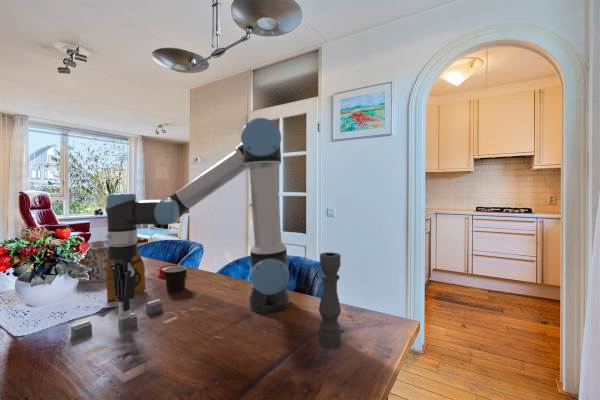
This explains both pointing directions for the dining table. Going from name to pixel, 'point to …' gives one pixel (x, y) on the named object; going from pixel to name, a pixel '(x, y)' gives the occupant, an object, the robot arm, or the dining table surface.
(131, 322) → the switch
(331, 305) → the candle holder
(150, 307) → the switch
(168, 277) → the coffee mug
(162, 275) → the alarm clock
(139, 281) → the coffee package
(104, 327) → the dining table surface
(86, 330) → the switch
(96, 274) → the decorative jar
